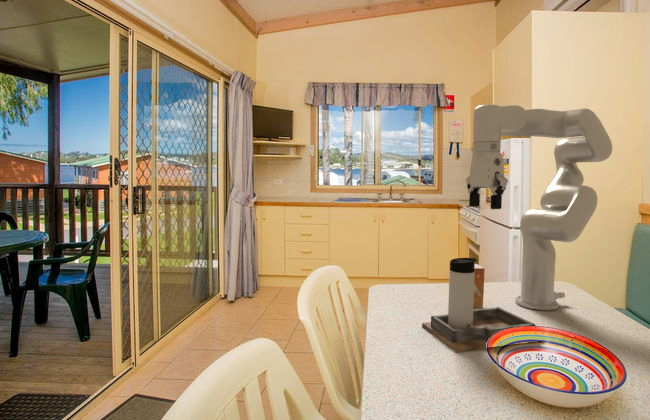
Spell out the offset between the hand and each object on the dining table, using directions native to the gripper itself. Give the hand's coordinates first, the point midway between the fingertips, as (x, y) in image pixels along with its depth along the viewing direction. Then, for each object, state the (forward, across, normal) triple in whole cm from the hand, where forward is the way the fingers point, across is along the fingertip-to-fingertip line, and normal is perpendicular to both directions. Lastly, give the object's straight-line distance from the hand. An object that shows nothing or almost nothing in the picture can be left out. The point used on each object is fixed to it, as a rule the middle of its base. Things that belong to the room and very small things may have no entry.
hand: (484, 207), depth 117 cm
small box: (+33, +11, -3) cm, 35 cm away
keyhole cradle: (+33, -11, +9) cm, 36 cm away
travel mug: (+32, -11, +15) cm, 37 cm away
